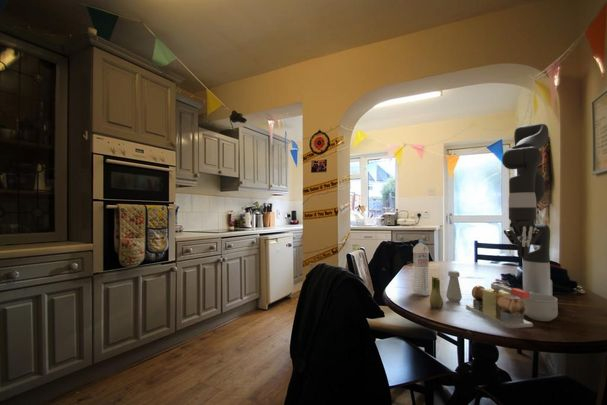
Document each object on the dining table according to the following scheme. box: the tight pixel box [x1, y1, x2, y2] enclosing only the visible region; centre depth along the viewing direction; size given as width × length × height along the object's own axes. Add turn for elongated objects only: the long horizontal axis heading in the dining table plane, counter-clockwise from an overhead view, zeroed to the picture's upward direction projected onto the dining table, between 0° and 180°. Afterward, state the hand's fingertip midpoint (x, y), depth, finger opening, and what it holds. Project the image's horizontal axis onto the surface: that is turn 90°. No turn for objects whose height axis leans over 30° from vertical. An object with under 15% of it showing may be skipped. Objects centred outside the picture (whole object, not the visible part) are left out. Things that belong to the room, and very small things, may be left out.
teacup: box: [519, 292, 559, 322], centre depth 106 cm, size 14×11×8 cm
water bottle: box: [412, 239, 430, 297], centre depth 134 cm, size 7×7×25 cm
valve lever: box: [490, 282, 529, 299], centre depth 101 cm, size 14×3×2 cm, turn 8°
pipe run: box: [465, 285, 534, 329], centre depth 106 cm, size 9×20×10 cm, turn 8°
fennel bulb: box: [429, 276, 444, 310], centre depth 115 cm, size 6×5×12 cm
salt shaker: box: [445, 269, 463, 304], centre depth 123 cm, size 6×6×13 cm
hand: (522, 257), depth 98 cm, fingers closed
